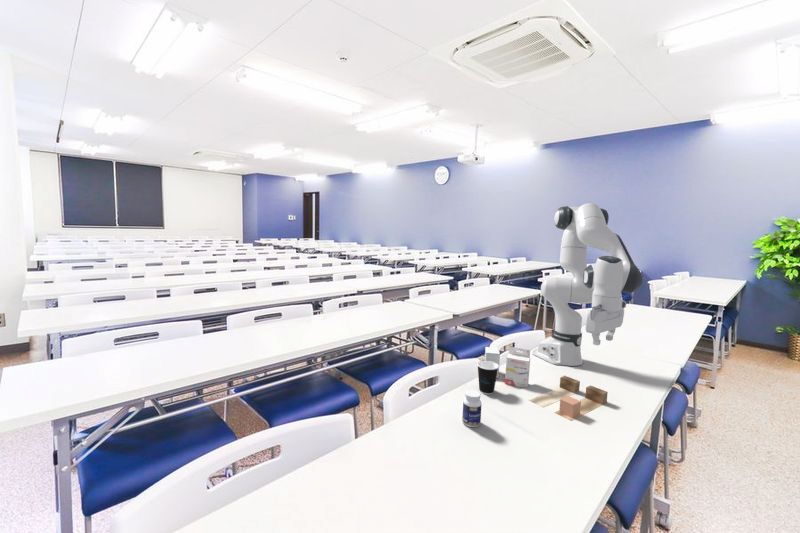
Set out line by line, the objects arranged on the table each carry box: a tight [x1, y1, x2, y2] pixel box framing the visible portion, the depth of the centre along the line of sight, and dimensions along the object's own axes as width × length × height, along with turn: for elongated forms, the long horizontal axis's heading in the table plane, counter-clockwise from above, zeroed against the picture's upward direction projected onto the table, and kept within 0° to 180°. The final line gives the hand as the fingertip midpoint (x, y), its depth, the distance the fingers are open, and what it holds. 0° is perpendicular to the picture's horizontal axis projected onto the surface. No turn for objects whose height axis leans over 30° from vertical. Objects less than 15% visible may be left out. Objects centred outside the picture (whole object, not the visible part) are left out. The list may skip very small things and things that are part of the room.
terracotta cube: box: [559, 396, 581, 418], centre depth 119 cm, size 4×4×4 cm
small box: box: [484, 346, 501, 379], centre depth 153 cm, size 8×6×10 cm
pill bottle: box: [461, 389, 482, 428], centre depth 115 cm, size 6×6×10 cm
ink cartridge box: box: [504, 346, 531, 389], centre depth 142 cm, size 9×5×15 cm, turn 65°
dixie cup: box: [476, 360, 500, 395], centre depth 136 cm, size 8×8×11 cm
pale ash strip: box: [528, 375, 581, 408], centre depth 131 cm, size 6×22×5 cm, turn 124°
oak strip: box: [554, 384, 608, 422], centre depth 123 cm, size 6×22×5 cm, turn 124°
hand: (603, 342), depth 126 cm, fingers open, 8 cm apart
